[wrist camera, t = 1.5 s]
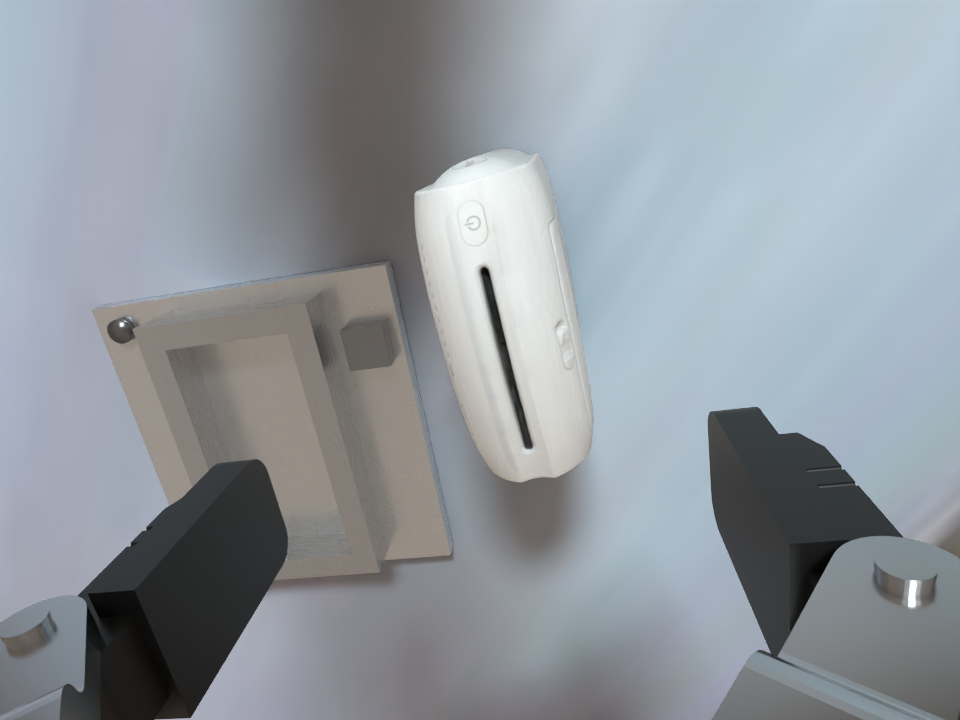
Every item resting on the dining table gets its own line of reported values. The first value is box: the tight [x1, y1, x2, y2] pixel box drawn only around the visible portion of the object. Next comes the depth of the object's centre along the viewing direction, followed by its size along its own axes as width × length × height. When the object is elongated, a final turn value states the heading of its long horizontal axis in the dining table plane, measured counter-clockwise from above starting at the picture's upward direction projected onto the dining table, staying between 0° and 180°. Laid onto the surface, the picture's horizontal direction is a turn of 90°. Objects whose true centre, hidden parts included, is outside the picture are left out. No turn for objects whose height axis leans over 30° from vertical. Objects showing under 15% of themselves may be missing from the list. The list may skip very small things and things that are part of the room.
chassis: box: [92, 260, 453, 580], centre depth 31 cm, size 16×15×3 cm
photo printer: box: [414, 149, 593, 483], centre depth 23 cm, size 10×4×12 cm, turn 14°
